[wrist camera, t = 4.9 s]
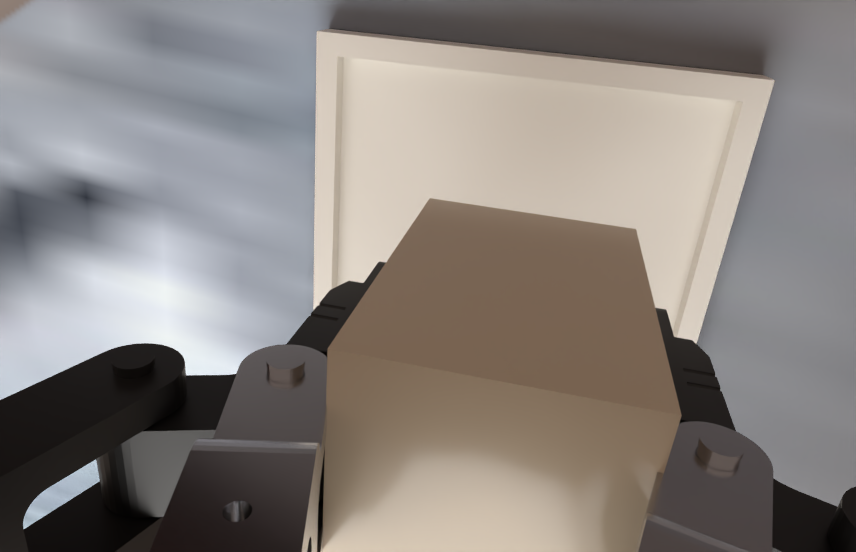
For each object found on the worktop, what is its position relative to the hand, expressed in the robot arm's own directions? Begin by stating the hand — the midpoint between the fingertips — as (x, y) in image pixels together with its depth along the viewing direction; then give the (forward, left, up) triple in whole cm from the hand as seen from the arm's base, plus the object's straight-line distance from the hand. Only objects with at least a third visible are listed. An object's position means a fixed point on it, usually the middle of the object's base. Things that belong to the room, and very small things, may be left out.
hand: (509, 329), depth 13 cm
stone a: (0, 0, -1) cm, 1 cm away
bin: (0, +4, -8) cm, 9 cm away
